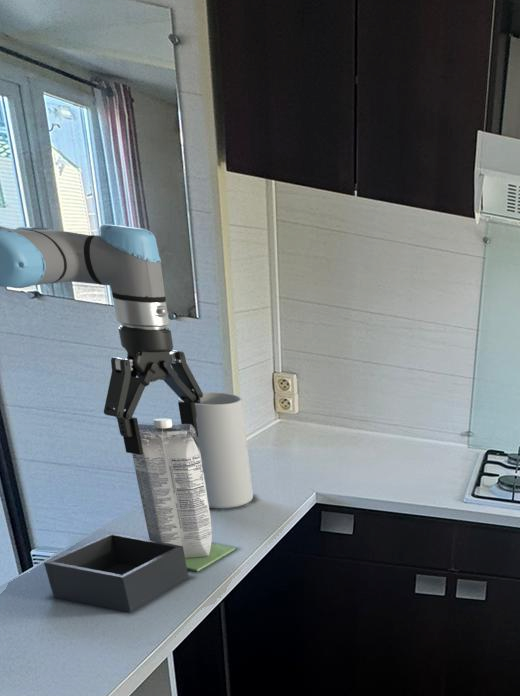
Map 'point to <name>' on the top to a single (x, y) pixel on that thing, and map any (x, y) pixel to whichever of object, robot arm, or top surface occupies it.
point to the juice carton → (174, 487)
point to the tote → (117, 571)
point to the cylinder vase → (223, 450)
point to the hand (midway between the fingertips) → (164, 444)
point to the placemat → (208, 557)
